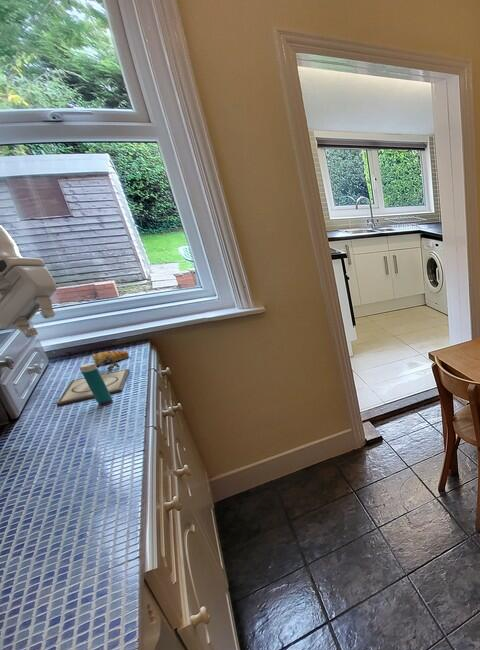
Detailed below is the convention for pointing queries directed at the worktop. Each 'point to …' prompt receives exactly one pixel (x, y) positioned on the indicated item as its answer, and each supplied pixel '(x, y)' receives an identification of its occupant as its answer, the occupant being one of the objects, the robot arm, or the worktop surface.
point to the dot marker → (96, 383)
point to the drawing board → (81, 390)
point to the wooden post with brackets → (108, 362)
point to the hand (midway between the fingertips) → (41, 326)
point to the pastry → (115, 354)
